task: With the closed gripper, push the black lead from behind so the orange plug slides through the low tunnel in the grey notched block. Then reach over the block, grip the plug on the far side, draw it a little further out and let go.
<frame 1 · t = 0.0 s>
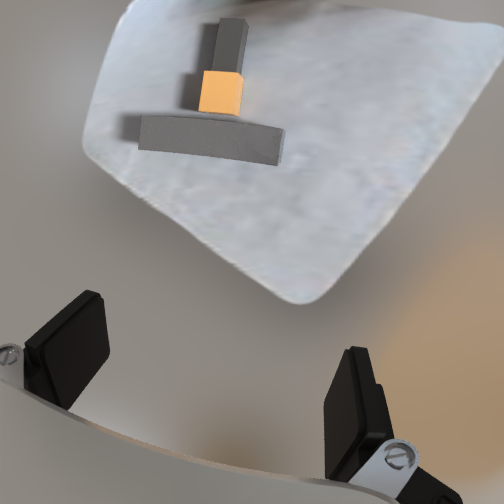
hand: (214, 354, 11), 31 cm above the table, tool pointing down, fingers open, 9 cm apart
cable plug: (225, 95, 36), on the table
grey notched block: (219, 137, 38), on the table
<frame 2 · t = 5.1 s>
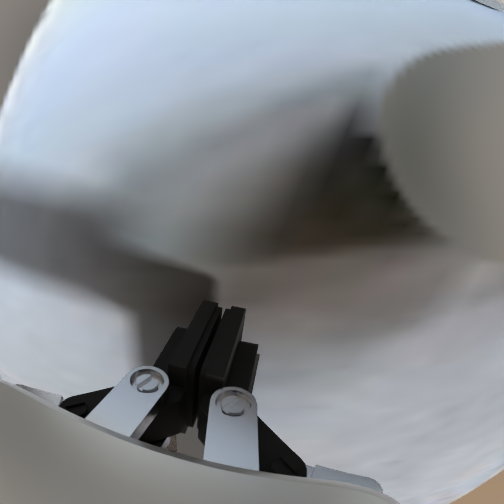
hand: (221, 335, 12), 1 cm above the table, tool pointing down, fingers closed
cable plug: (213, 456, 18), on the table, touching gripper
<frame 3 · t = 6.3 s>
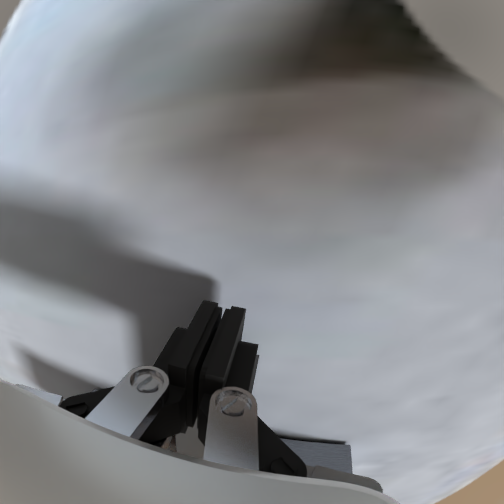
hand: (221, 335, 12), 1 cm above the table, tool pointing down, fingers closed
cable plug: (213, 457, 18), on the table, touching gripper
grey notched block: (214, 443, 17), on the table
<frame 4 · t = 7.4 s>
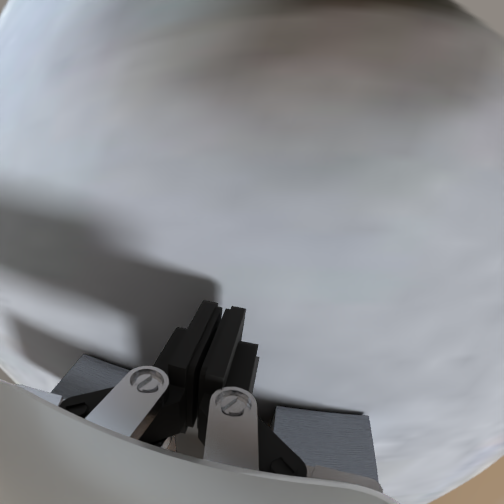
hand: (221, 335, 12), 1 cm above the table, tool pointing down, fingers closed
cable plug: (213, 460, 17), on the table, touching gripper
grey notched block: (215, 417, 16), on the table
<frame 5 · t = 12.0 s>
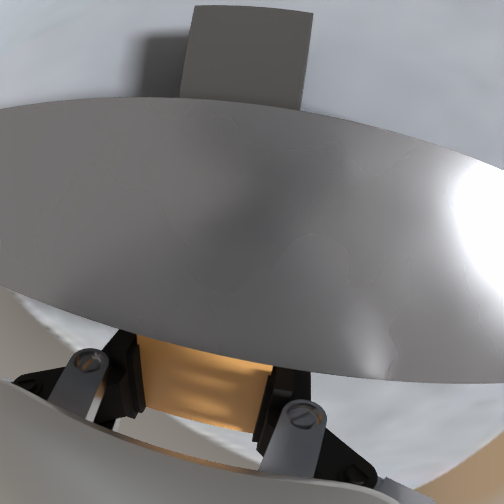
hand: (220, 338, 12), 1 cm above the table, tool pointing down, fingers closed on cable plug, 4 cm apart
cable plug: (227, 305, 12), on the table, touching gripper
grey notched block: (243, 178, 11), on the table
when the fingers open (1 cm above the table, at t = 13.2 s): cable plug stays where it is, on the table.
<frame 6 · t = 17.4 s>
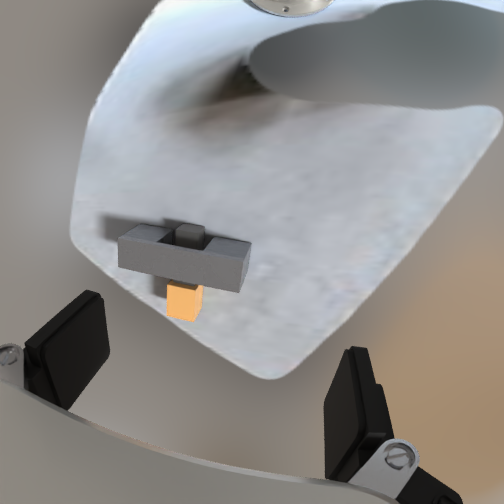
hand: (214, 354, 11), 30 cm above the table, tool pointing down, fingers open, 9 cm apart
cable plug: (189, 290, 46), on the table
grey notched block: (192, 246, 43), on the table
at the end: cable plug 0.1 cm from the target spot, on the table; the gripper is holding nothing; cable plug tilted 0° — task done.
